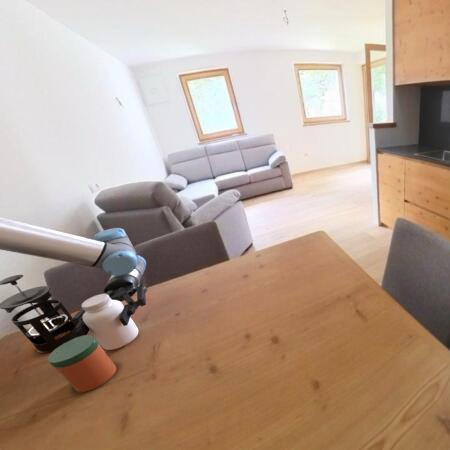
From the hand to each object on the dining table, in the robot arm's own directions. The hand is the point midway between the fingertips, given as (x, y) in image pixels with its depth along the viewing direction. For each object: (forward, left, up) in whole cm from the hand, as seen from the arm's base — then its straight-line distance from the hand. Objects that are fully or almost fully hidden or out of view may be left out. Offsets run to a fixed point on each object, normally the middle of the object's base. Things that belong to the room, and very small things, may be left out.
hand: (102, 328), depth 74 cm
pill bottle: (-2, +4, -9) cm, 10 cm away
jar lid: (0, -8, +1) cm, 8 cm away
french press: (-22, +8, -9) cm, 25 cm away
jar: (0, -8, -9) cm, 12 cm away
